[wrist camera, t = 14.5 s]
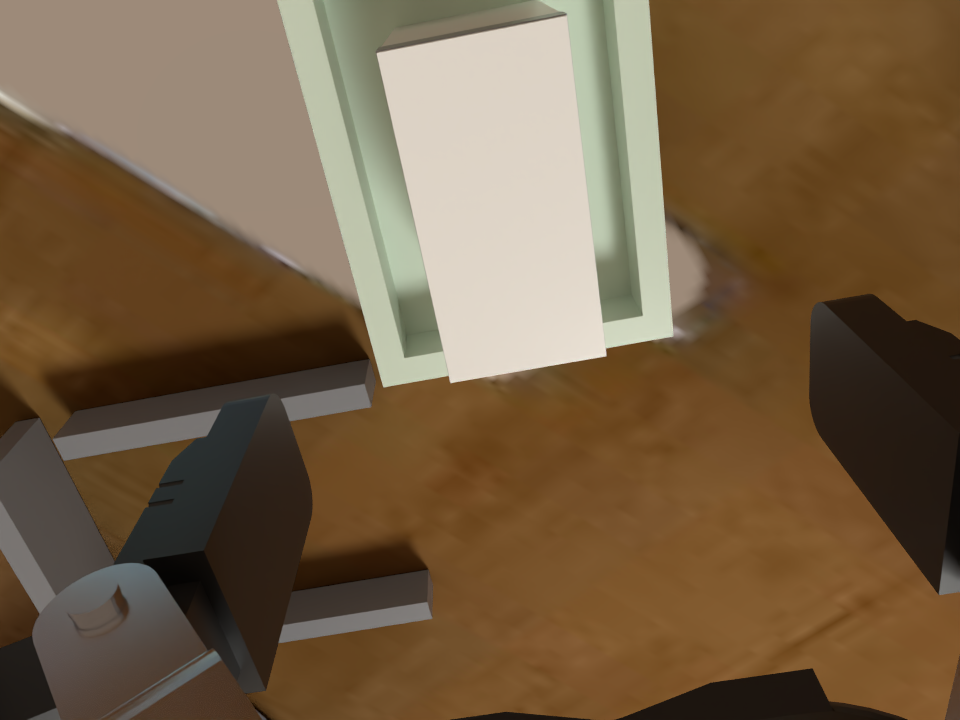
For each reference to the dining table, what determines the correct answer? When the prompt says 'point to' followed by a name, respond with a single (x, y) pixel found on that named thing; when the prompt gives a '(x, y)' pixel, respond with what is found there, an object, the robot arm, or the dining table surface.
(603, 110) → the tray
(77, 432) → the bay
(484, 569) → the dining table surface
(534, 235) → the cream rectangular block
